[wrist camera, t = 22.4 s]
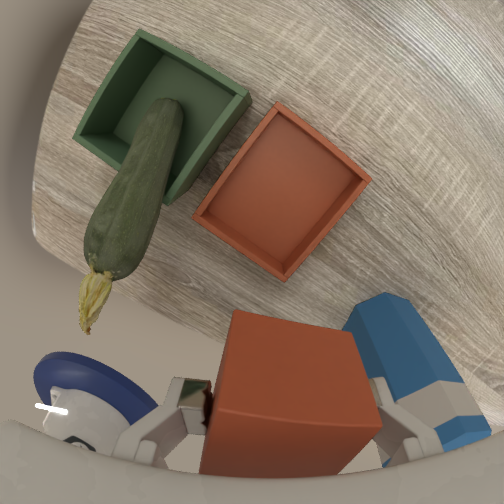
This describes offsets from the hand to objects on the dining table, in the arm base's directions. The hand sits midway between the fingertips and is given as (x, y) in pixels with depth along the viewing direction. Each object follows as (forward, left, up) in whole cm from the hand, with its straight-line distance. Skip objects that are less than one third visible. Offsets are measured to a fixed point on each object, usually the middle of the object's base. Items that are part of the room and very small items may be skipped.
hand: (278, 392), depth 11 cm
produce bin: (+4, +14, -19) cm, 24 cm away
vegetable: (+6, +14, -18) cm, 24 cm away
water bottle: (-1, -17, -20) cm, 26 cm away
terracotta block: (0, 0, -2) cm, 2 cm away
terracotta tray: (+4, +2, -19) cm, 20 cm away
